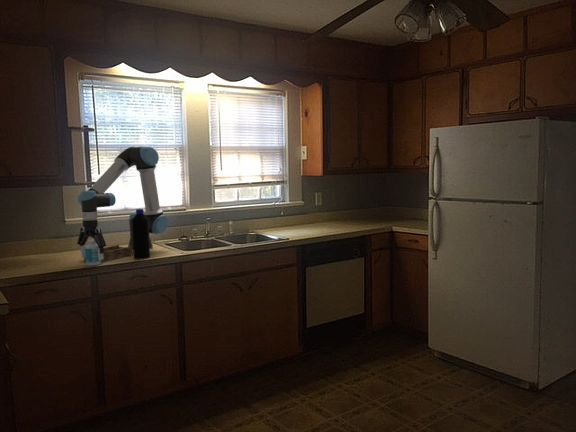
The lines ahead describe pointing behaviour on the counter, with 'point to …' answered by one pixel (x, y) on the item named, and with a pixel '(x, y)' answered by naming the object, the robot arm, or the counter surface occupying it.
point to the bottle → (140, 235)
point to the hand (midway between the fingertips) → (92, 258)
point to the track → (116, 252)
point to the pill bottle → (92, 253)
